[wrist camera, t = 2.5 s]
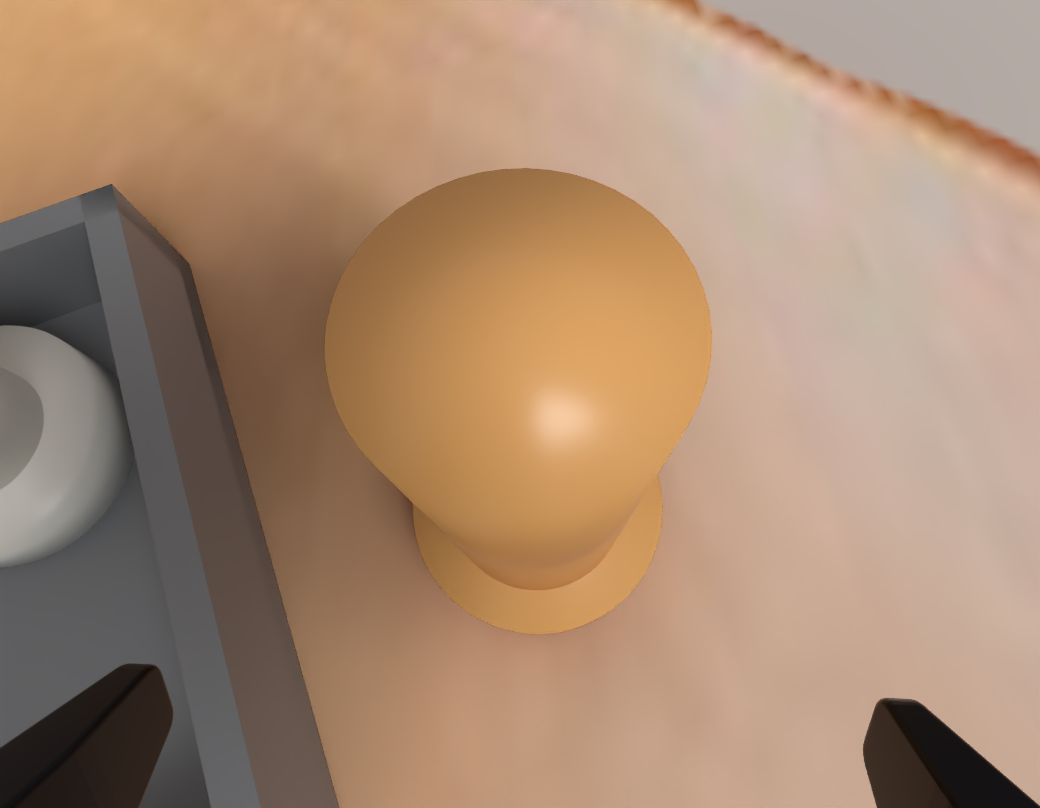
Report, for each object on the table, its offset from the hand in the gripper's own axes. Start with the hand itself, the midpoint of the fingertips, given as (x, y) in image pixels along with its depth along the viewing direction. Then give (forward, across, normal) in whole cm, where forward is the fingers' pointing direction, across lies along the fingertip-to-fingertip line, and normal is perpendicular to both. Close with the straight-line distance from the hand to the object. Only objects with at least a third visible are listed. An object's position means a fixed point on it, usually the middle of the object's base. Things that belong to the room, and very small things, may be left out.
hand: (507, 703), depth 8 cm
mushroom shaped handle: (+11, 0, +5) cm, 12 cm away
